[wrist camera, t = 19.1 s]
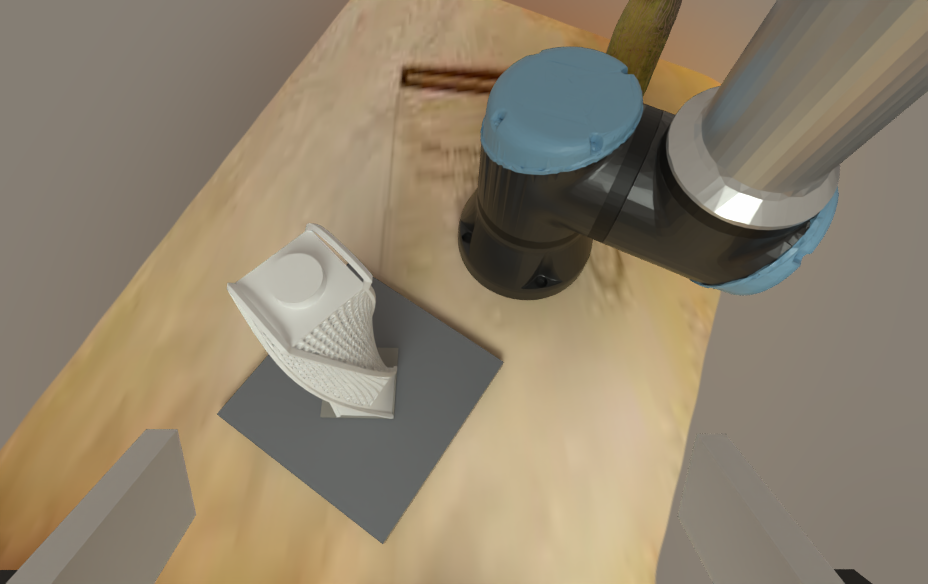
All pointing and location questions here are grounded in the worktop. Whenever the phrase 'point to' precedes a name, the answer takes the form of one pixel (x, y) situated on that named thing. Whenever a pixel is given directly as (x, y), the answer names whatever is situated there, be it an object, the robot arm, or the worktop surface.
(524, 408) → the worktop surface
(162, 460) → the robot arm
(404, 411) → the charcoal board
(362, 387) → the skyscraper
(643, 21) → the vegetable
